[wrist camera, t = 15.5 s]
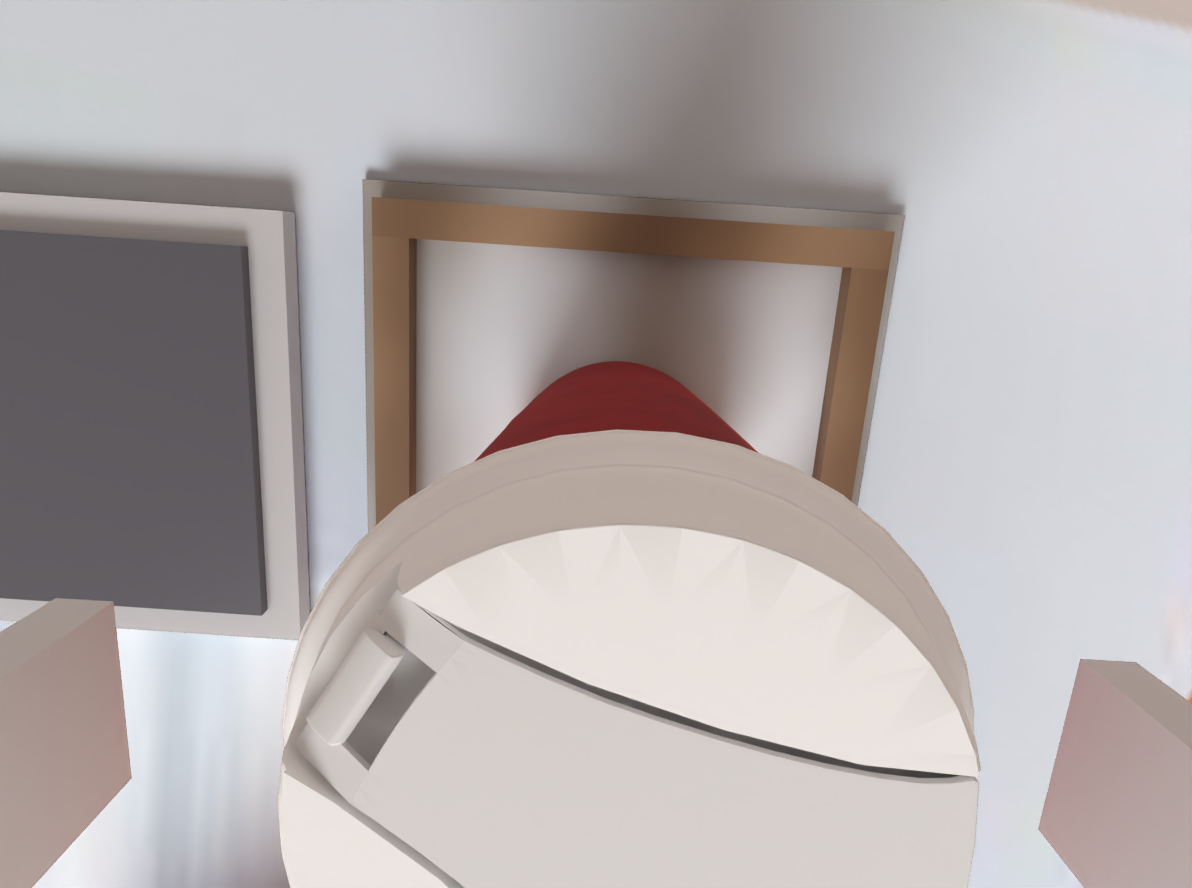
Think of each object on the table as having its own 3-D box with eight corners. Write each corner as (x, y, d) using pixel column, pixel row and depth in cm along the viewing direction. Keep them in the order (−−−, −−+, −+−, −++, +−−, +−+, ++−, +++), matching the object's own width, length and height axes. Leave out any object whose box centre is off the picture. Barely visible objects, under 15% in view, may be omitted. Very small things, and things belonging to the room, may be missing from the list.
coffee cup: (429, 491, 22) (90, 933, 8) (578, 263, 20) (502, 279, 6) (651, 632, 23) (723, 1253, 9) (812, 426, 22) (1234, 778, 7)
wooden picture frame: (371, 659, 24) (361, 676, 23) (364, 179, 20) (352, 175, 19) (824, 690, 24) (834, 707, 23) (902, 215, 20) (916, 213, 19)
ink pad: (-85, 601, 24) (-121, 618, 23) (-164, 182, 20) (-211, 177, 19) (311, 627, 24) (295, 647, 23) (294, 212, 20) (276, 210, 19)
